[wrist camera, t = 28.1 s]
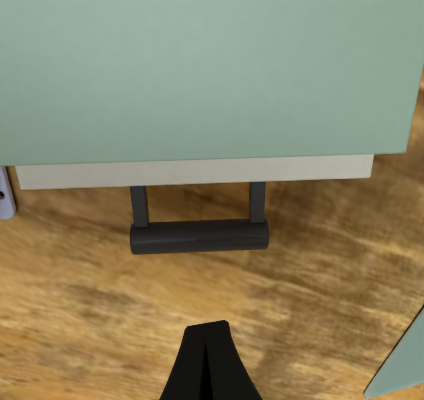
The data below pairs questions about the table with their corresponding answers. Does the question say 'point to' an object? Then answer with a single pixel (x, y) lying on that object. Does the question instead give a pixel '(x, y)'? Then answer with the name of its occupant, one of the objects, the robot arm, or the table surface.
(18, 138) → the drawer cabinet
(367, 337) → the table surface
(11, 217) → the robot arm
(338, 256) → the table surface
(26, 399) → the table surface
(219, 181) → the cream drawer
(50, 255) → the table surface
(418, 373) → the thin wedge-shaped triangle plate
